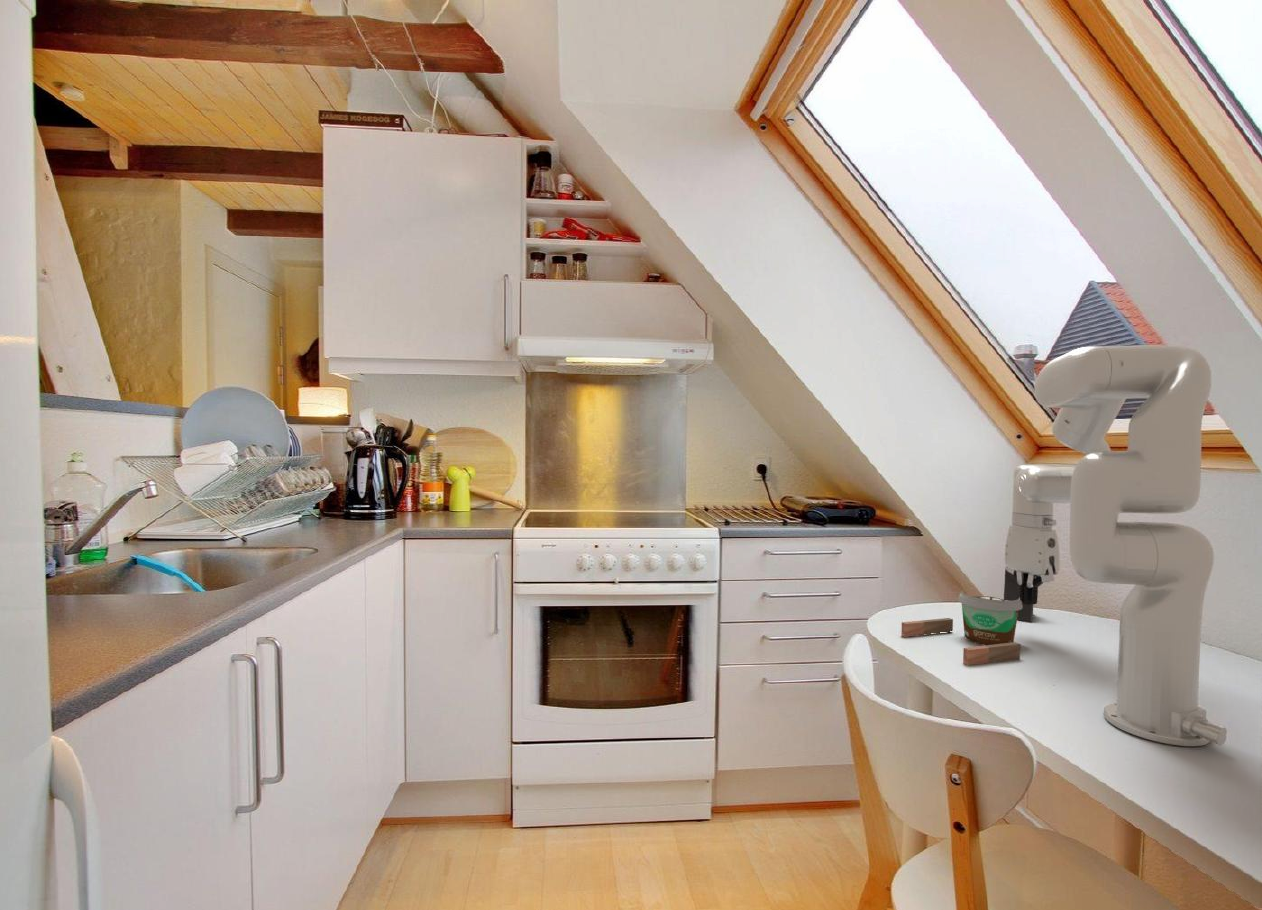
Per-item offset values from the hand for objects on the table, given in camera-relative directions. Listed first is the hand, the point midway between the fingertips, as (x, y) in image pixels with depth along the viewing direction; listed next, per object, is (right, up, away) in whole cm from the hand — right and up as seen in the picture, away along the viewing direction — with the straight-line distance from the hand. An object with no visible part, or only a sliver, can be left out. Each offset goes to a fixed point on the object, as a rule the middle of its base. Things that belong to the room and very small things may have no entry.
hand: (1028, 603), depth 139 cm
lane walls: (-19, -8, -6) cm, 21 cm away
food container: (-11, -8, -3) cm, 14 cm away
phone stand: (+8, -7, +17) cm, 20 cm away
